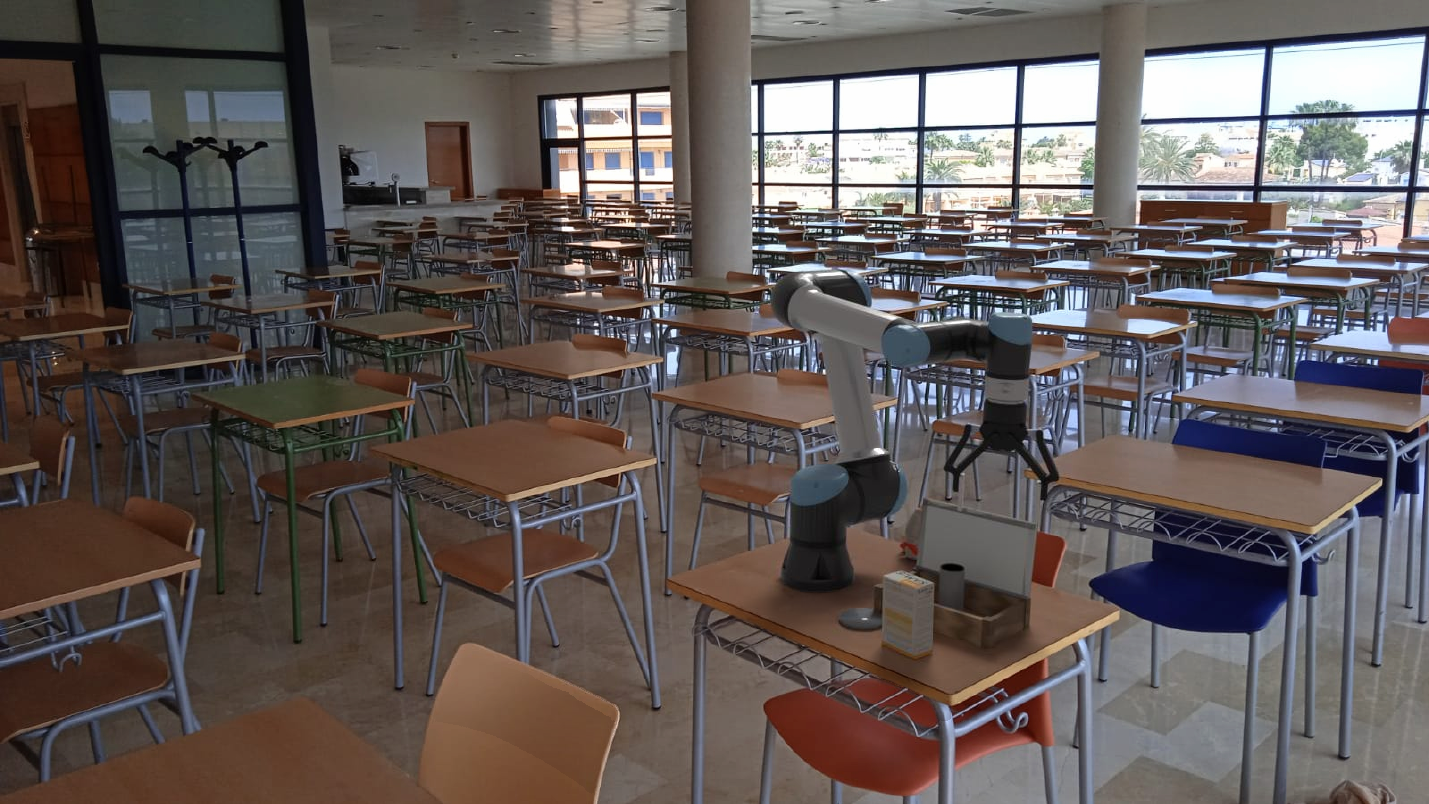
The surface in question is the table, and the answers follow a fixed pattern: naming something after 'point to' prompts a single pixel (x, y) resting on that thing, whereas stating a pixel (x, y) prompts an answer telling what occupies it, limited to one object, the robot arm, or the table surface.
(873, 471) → the robot arm
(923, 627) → the supplement box
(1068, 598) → the table surface
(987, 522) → the lid
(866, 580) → the table surface
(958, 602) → the grey cylindrical cup
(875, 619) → the saucer
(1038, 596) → the table surface
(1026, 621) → the cold frame
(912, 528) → the figurine
